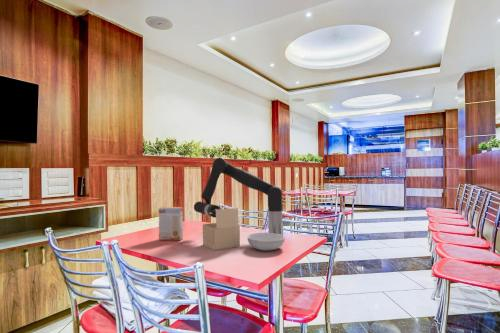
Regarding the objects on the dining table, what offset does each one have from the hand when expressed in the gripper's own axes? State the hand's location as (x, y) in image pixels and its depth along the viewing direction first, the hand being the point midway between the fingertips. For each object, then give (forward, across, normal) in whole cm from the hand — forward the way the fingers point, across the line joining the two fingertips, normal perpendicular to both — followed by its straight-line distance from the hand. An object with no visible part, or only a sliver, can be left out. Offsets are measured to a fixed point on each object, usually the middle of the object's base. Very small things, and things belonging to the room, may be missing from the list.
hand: (225, 213), depth 162 cm
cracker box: (-37, -20, +20) cm, 46 cm away
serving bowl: (+15, +18, +20) cm, 30 cm away
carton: (-6, 0, +19) cm, 20 cm away
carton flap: (+2, 0, +2) cm, 3 cm away
